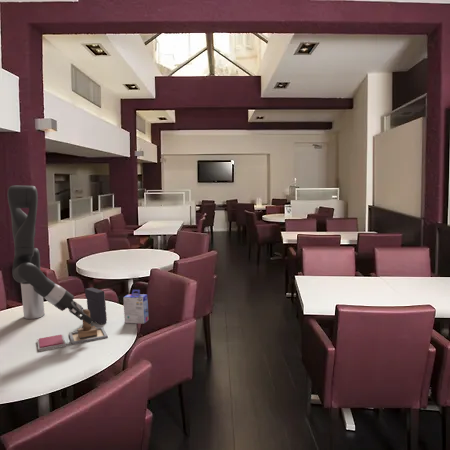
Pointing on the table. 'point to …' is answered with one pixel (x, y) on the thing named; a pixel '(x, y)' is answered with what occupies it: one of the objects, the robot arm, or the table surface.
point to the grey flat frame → (100, 335)
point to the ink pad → (51, 342)
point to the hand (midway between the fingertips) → (90, 319)
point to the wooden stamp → (87, 328)
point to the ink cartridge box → (136, 308)
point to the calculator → (96, 305)
